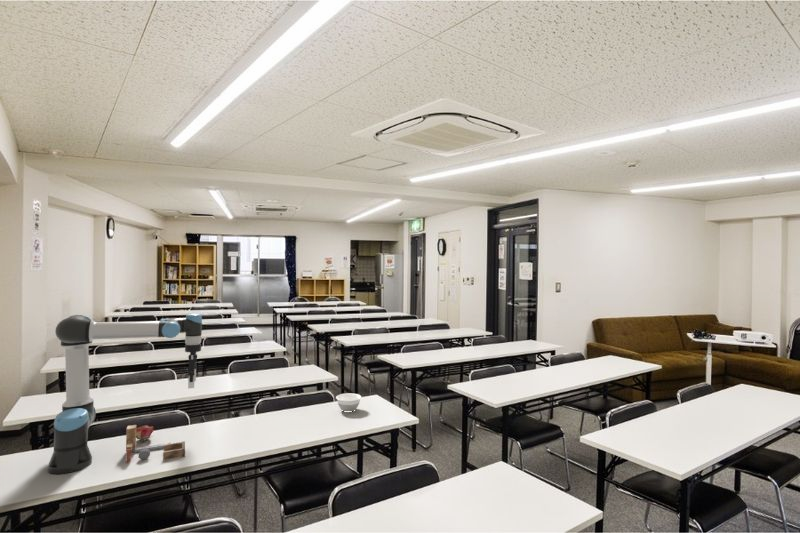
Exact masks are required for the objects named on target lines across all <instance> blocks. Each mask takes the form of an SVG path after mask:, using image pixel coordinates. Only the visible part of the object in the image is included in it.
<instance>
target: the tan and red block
mask: <svg viewBox="0 0 800 533" xmlns="http://www.w3.org/2000/svg"><path fill="white" fill-rule="evenodd" d="M136 429H137V424H133V425H131V424H130V425H127V427H126V432H125V433H126V434H125V435H126V436H125V438H126V440H125V453H126V457H125V458H126V459H125V462H126V463H131V461H132V454H131V451H133V450H135V449H136V448H137V438H136Z"/></svg>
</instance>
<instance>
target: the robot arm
mask: <svg viewBox="0 0 800 533" xmlns="http://www.w3.org/2000/svg"><path fill="white" fill-rule="evenodd" d="M202 328H203V316H202V315H201V314H199V313H188V314H186V315H185V317H181V318H160V319H159V321H113V322H112V321H105V322H103V321H102V322H99V321H98V322H96V321H95V320H94V319H92V318H90V317H89V316H86V315H84V314H72V315H70V316H68V317H67V318H64V319H62V320H61V321H59V322H58V323H57V325H56V327H55V330H54V331H55V336H56V337H57V339H58V340H60V346H61V348H62V349H64V351H65V356H64V357H65V399H66V400H65V401H64V403H62V404H61V406H62V407H61V408H62V409H61V411H60V412H59V413H58V414H57V415H56V416H55V417H54V421H53V452H52V454H51V457H50V460H49V462H48V464H47V472H48V473H49V474H52V475H64V474H69V473H74V472H76V471H79V470H82V469H84V468H87V467H89V466H90V465H91V464H92V462H93V456H92V452H91V451H90V448H89V446H88V439H89V435H88V434H89V428H90V427H91V425H92V424H93V423H94V421H95V418H96V415H97V413H96V409H95V408H96V407H95V406H94V405H95V403H94V398H93V397H91V396H90V364H89V362H90V360H89V358H90V357H89V355H90V354H89V351H90V350H89V346H91V344H92V343H93V341H94V340H111V339H112V340H115V339H116V340H117V339H143V338H146V339H148V338H167V339H174V338H176V337H177V336H178V335H179V334H185V335H184V336H185V337H184V344H185V345H184V352H185V353H190V354H189V355H188V356H187V357H188V373H187V374H186V376H187V377H188V383H187V384H188V385H187V389H195V382H197V369H198V366H197V361H198V360H197V358H198V352H201V351H202V344H201V343H202V340H203V336H202V333H203V330H202Z"/></svg>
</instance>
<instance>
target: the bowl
mask: <svg viewBox="0 0 800 533" xmlns="http://www.w3.org/2000/svg"><path fill="white" fill-rule="evenodd" d="M335 399H336V400H337V405H338V406H339V409H340V410H341V411H342V410H343V411H354V410H355V411H356V410H357V408H358V407H359V405H360V401H361V399H362V396H361V395H360V394H359V393H354V392H353V393H351V392H349V393H348V392H347V393H340V394H338V395H336V397H335Z"/></svg>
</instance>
